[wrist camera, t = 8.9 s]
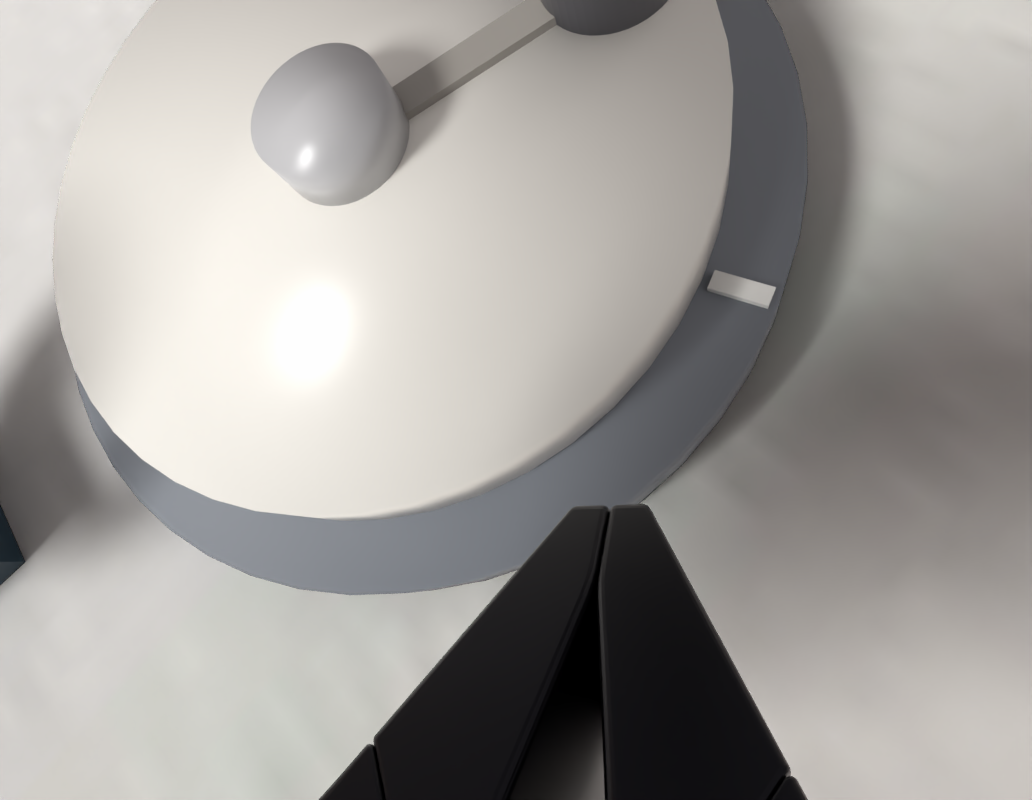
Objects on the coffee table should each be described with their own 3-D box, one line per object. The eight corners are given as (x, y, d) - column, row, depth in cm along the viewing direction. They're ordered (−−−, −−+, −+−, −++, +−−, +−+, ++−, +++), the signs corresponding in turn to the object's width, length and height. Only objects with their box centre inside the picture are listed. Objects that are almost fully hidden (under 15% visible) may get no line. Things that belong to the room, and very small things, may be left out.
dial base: (981, 69, 14) (1016, 8, 12) (447, 785, 14) (414, 814, 12) (382, -156, 21) (356, -214, 19) (10, 318, 20) (-47, 297, 19)
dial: (619, -196, 16) (498, -1291, 7) (846, 403, 12) (1531, -350, 2) (99, 47, 20) (-489, -453, 10) (113, 593, 15) (-970, 650, 5)
